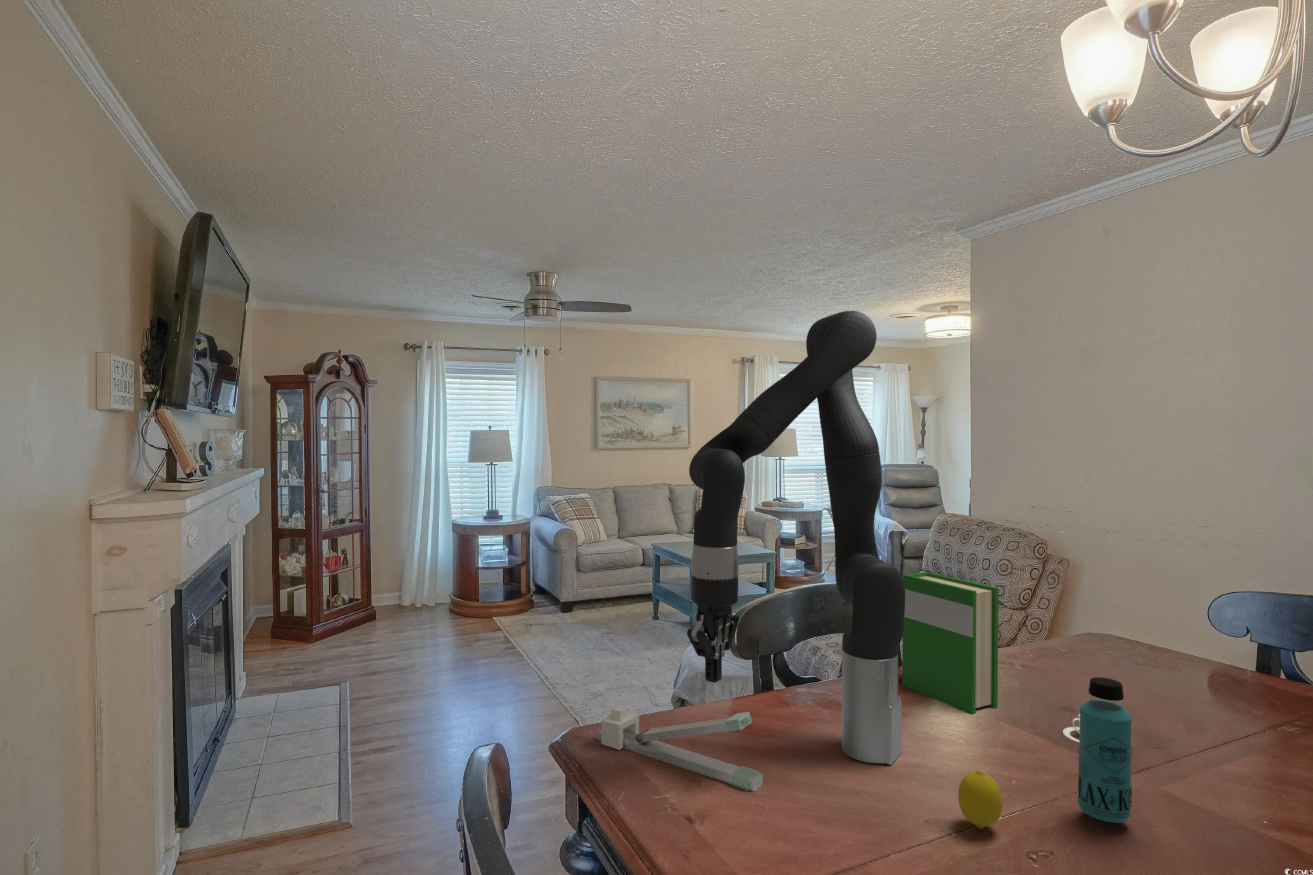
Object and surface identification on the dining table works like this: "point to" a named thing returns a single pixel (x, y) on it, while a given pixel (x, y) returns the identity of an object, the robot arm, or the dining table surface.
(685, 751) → the base
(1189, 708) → the dining table surface
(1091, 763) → the beverage bottle
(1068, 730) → the teacup and saucer
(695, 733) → the bar
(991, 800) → the lemon
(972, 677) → the hardback book
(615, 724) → the lock slider
